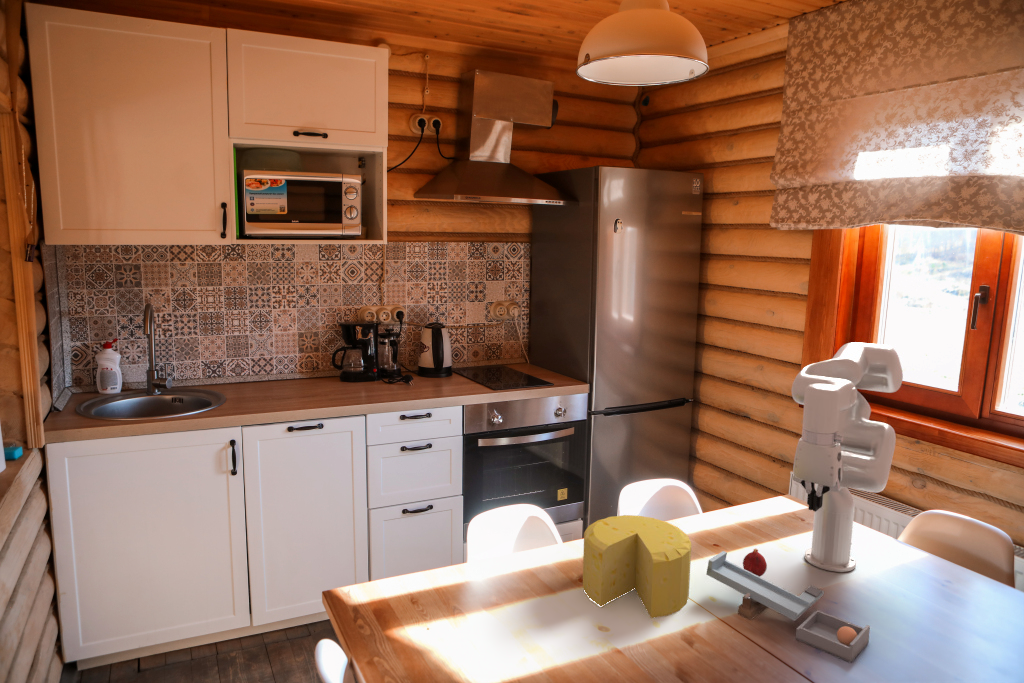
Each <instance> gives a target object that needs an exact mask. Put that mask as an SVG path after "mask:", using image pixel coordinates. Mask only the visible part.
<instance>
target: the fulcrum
mask: <svg viewBox="0 0 1024 683" xmlns="http://www.w3.org/2000/svg"><path fill="white" fill-rule="evenodd" d="M741 602H742V603H741V604H740V605H738V606H737V607H738V608H737V615H738V616H741V617H743V618H745V619H748V620H750V621H751V620H753V619H754V618H755V617H757V615H759V614H760V613H761V612H762V611H764V610H765V609H766V608H768V607H767V606H765V605H763V604H761V603H759V602H758V601H756V600H754V599H752V598H750V597H749V598H747V599H745V598H744V596H742V601H741Z"/></svg>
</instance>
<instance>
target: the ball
mask: <svg viewBox="0 0 1024 683" xmlns="http://www.w3.org/2000/svg"><path fill="white" fill-rule="evenodd" d="M856 637H857V633H856V632H855V630H854V629H852V628H850V627H847V626H844V627H841V628H840V629H839V630H838V632H837V638H838V640H839V642H840V643H841V644H844V645H846V646H849V647H850V643H851V642H852V641H853V640H854V639H855V638H856Z"/></svg>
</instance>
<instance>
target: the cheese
mask: <svg viewBox="0 0 1024 683" xmlns="http://www.w3.org/2000/svg"><path fill="white" fill-rule="evenodd" d="M582 557H583V560H582V561H583V562H582V563H583V564H582V589H583V588H584V590H585V592H586V593H587V595H588V596H589V598H591V599H592V600H593V601H595V602H596V603H597V604H599V605H600V606H602V605H604V604H606V603H607V602H609V601H611V600H613V599H615V598H617V597H619V596H621V595H623V594H625V593H627V592H629V591H631V590H632V589H634V588H635V589H636V590H635V592H636V591H637V592H636V594H637V593H638V594H637V595H639V596H638V598H639V597H640V598H641V599H640V598H639V599H640V601H641V600H642V601H641V603H642V602H643V603H642V605H643V604H644V605H643V606H645V607H644V608H645V610H646V609H647V610H646V611H648V612H647V613H649V614H648V615H650V616H649V617H650V619H655V618H656V619H657V618H661V617H667V616H670V615H672V613H673V614H676V613H677V612H680V611H681V610H682V609H683V608H684V607H685V606H686V605H687V604H688V601H687V600H689V595H690V579H691V561H692V560H691V559H692V542H691V540H690V537H689V535H687V534H686V533H685V532H684V531H683V530H682V529H681V528H680V527H678V526H677V525H674V524H672V523H670V522H668V521H665V520H661V519H658V518H655V517H650V516H643V515H631V514H630V515H629V514H628V515H627V514H624V515H616V516H608V517H606V518H602V519H598V520H596V521H595V522H593V523H591V524H589V525H588V526H587V528H586V529H585V531H584V532H583V556H582ZM631 592H632V591H631ZM629 593H630V592H629ZM627 594H628V593H627ZM625 595H626V594H625ZM654 617H655V618H654Z"/></svg>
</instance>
